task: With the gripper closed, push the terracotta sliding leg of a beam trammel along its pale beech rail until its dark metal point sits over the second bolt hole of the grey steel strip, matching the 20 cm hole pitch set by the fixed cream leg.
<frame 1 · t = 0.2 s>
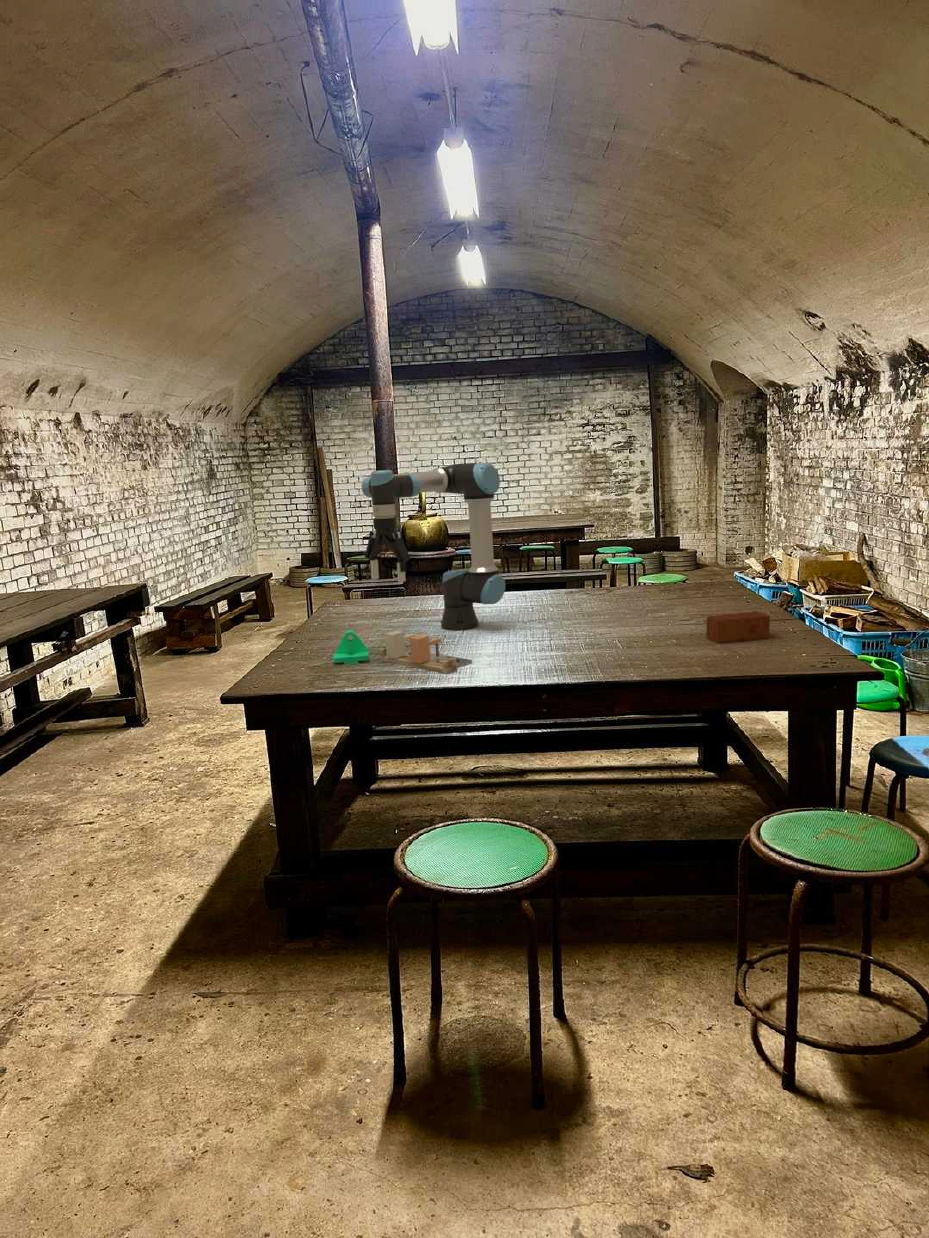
hand: (388, 580, 261), 27 cm above the table, fingers open, 13 cm apart
slider leg: (426, 647, 256), point 6 cm above the table, slide at 0.0 cm
brick: (737, 639, 270), on the table
hole plate: (433, 660, 262), on the table
camera mount: (351, 662, 267), on the table
fixed leg: (396, 661, 263), resting on rail
rail: (416, 665, 256), on the table
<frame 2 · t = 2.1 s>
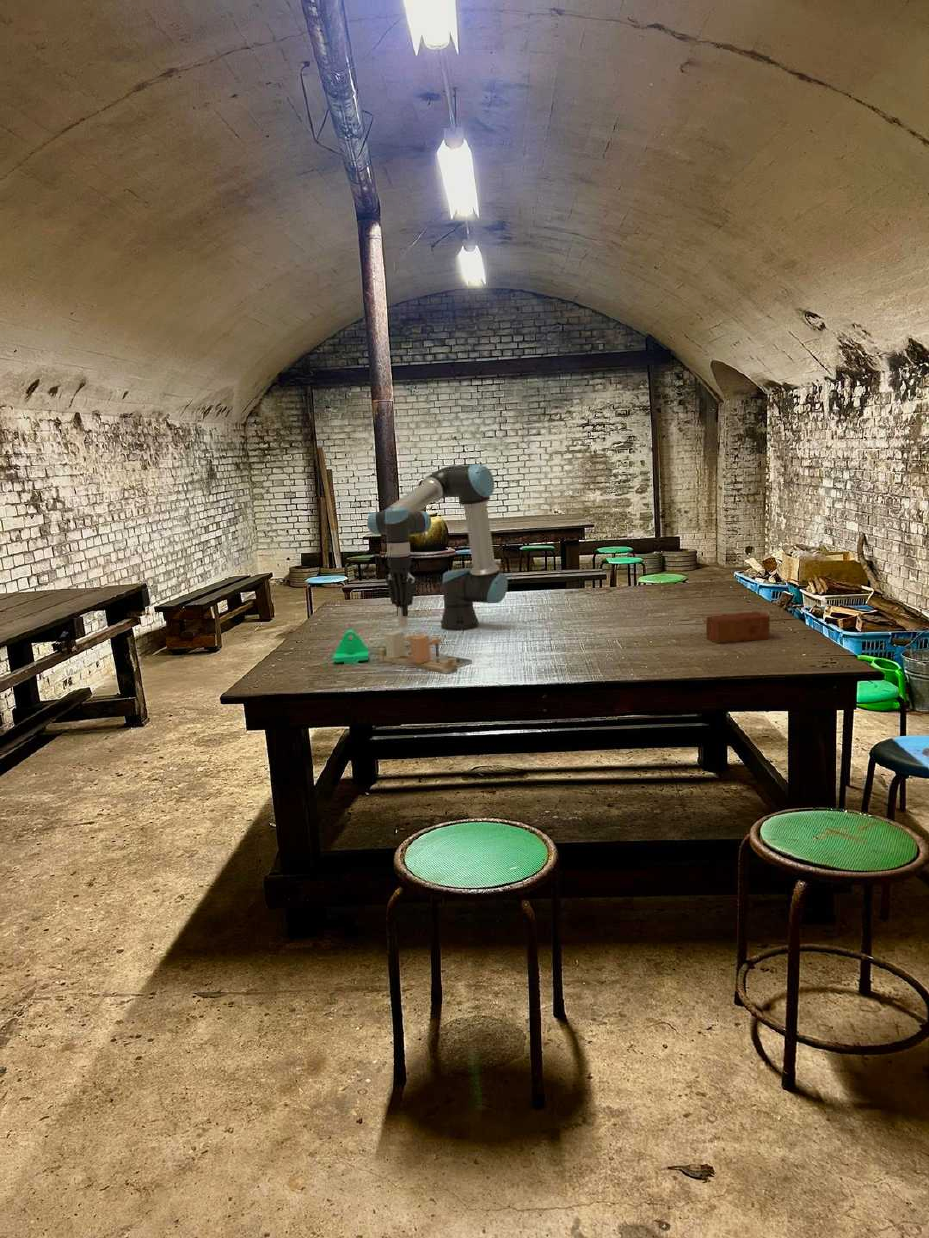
hand: (403, 625, 257), 13 cm above the table, fingers closed
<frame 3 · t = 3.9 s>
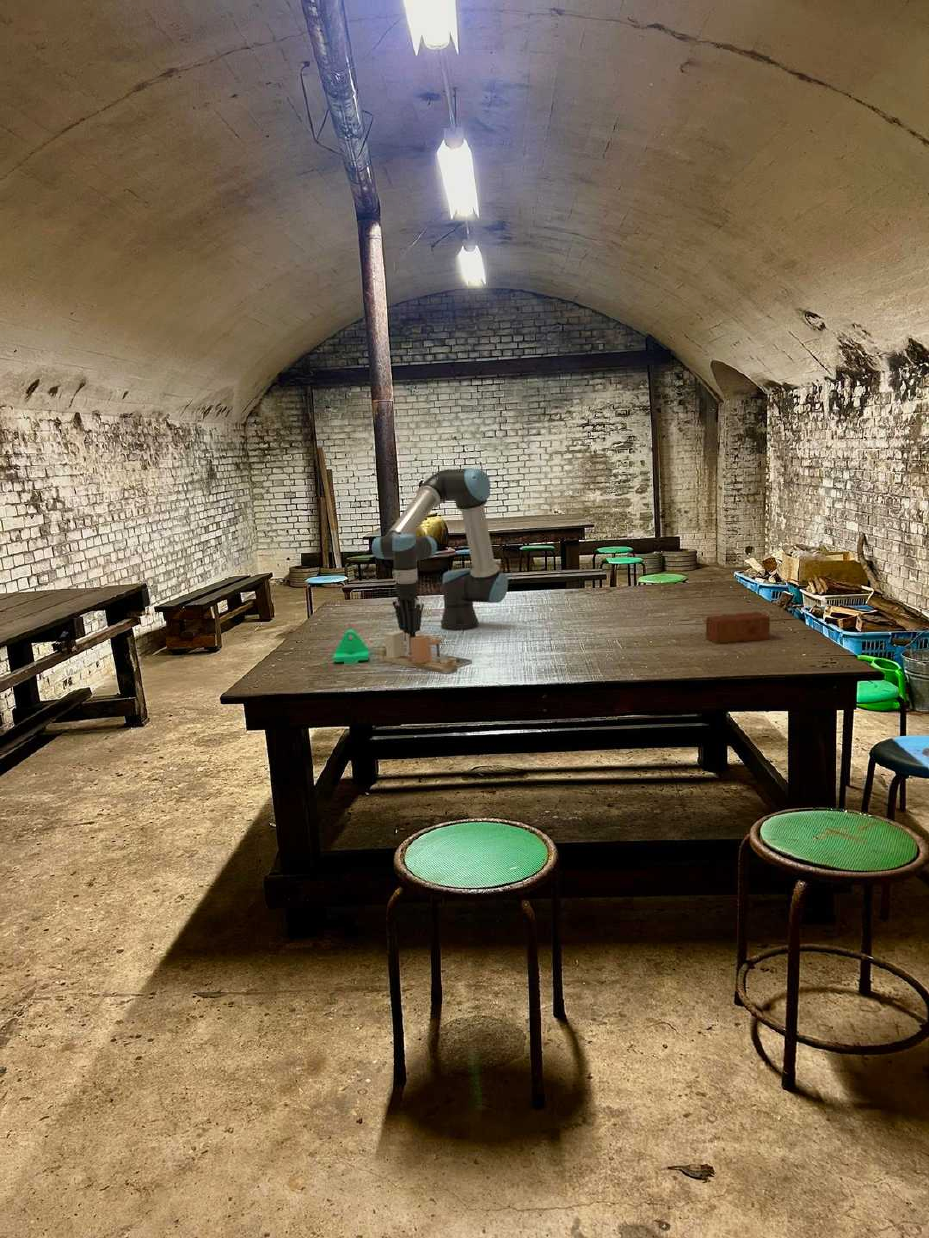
hand: (411, 651, 257), 5 cm above the table, fingers closed
slider leg: (427, 647, 256), point 6 cm above the table, slide at 0.5 cm, touching gripper
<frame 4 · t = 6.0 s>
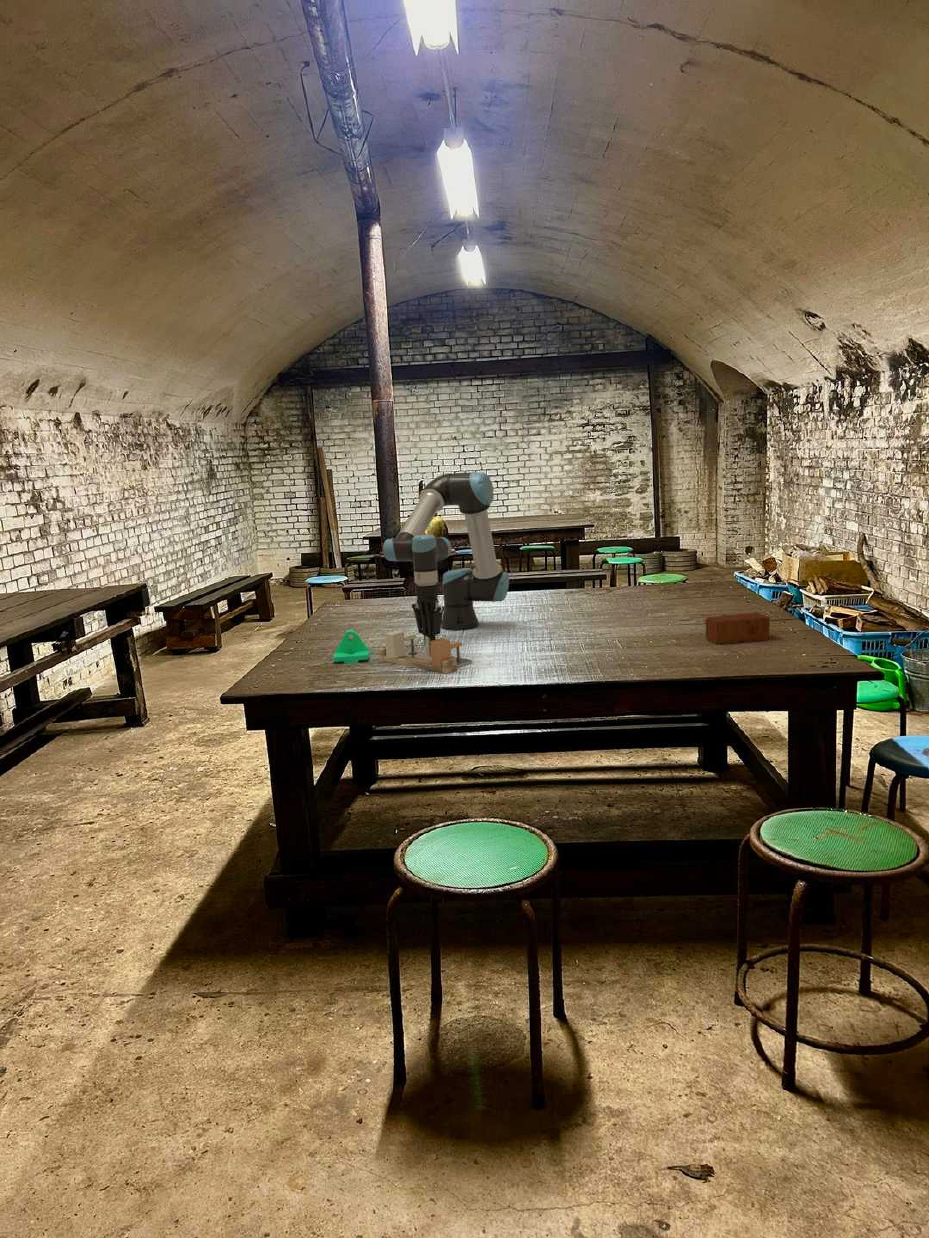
hand: (430, 655, 251), 4 cm above the table, fingers closed
slider leg: (448, 650, 250), point 6 cm above the table, slide at 9.6 cm, touching gripper
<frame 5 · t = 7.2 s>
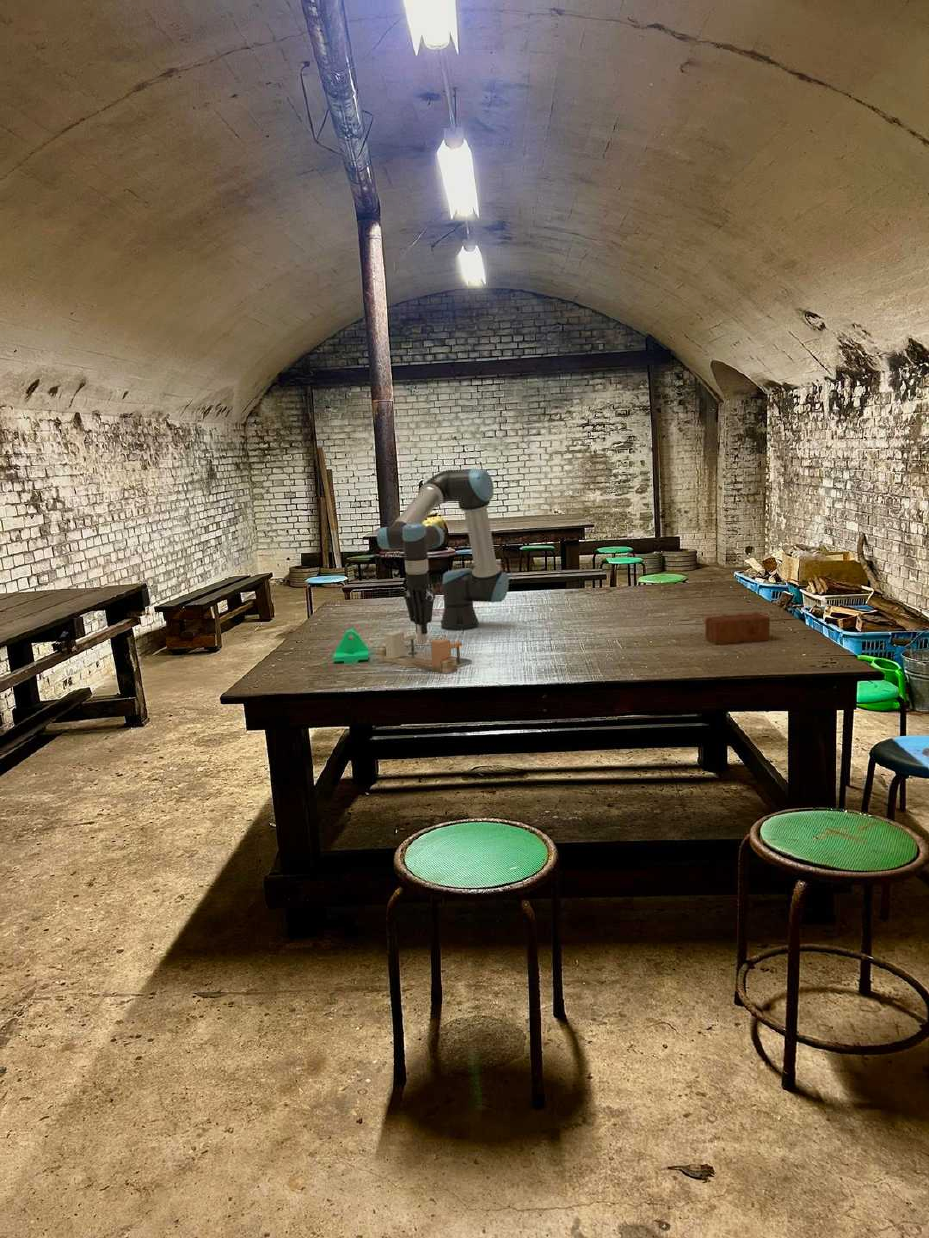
hand: (422, 643, 253), 8 cm above the table, fingers closed
slider leg: (448, 650, 250), point 6 cm above the table, slide at 9.7 cm
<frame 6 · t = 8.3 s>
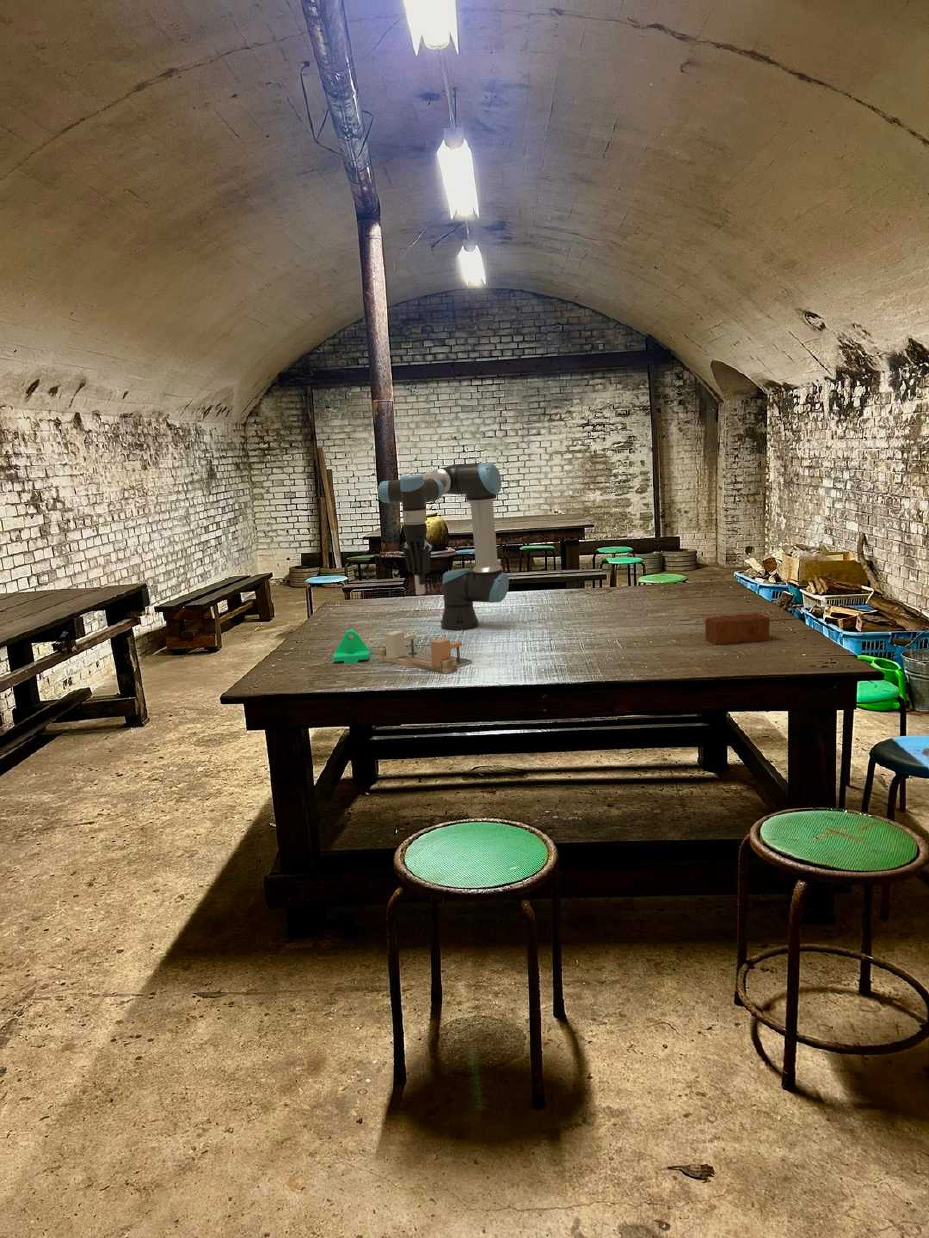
hand: (420, 593, 256), 23 cm above the table, fingers closed
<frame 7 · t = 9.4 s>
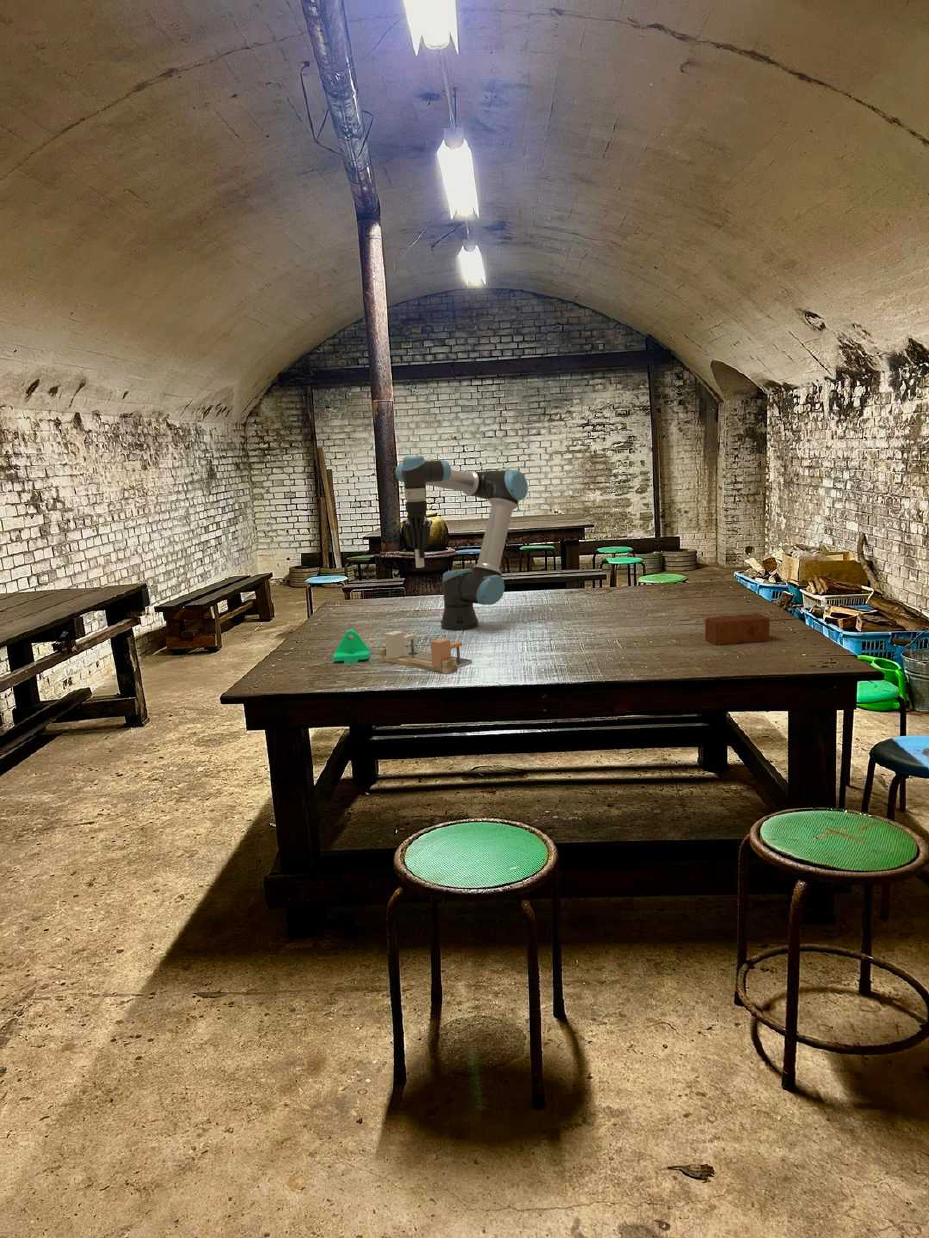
hand: (420, 567, 275), 29 cm above the table, fingers closed
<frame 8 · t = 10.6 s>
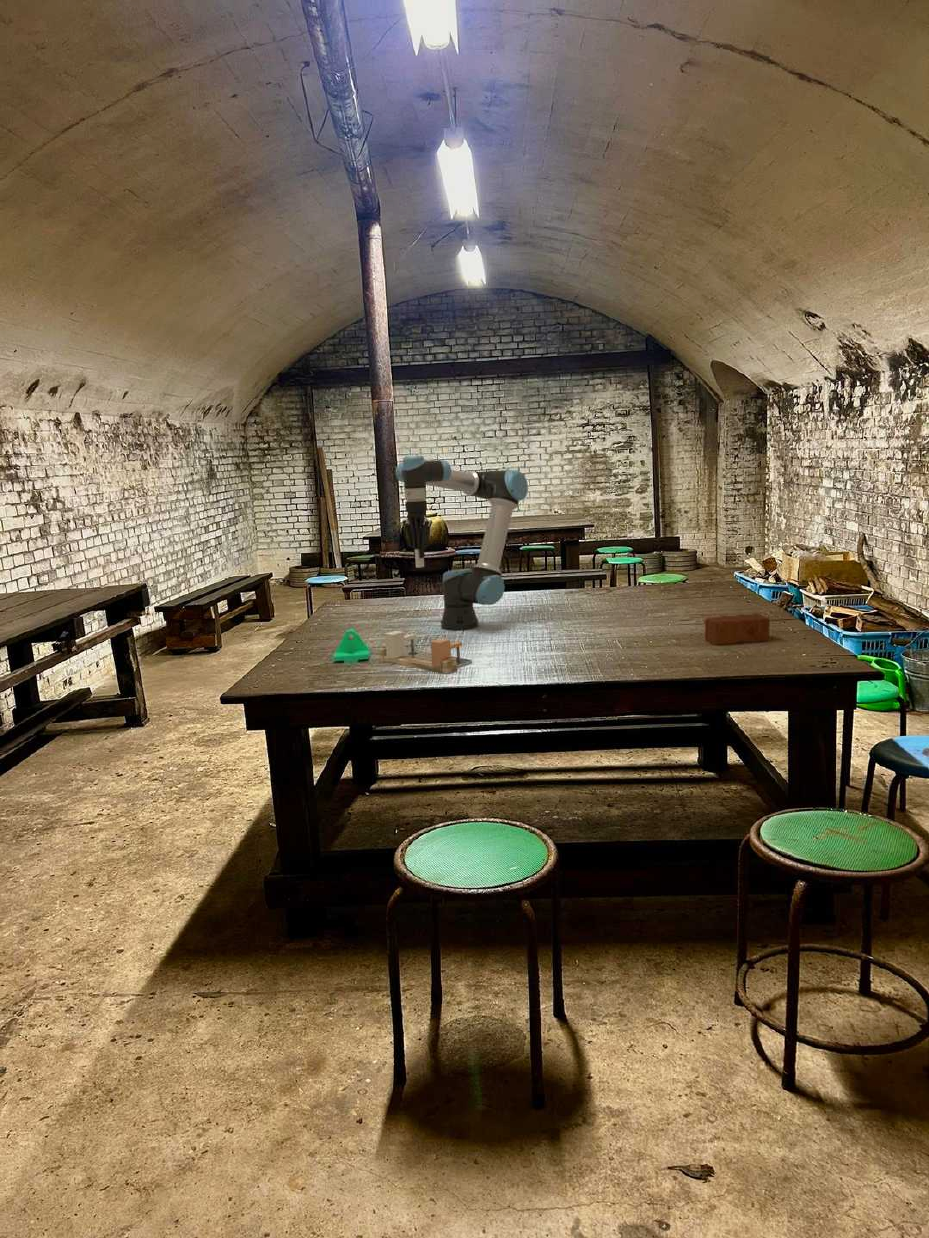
hand: (420, 567, 275), 29 cm above the table, fingers closed
at the end: slider leg slide at 9.7 cm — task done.
